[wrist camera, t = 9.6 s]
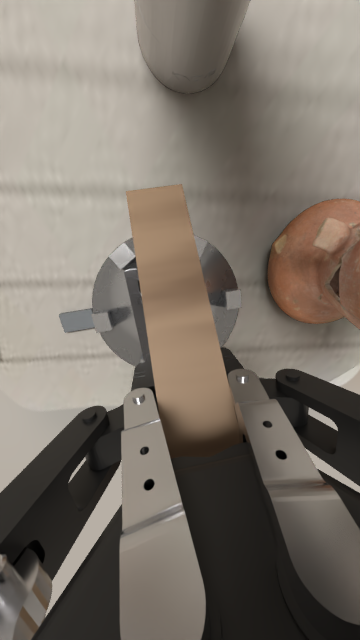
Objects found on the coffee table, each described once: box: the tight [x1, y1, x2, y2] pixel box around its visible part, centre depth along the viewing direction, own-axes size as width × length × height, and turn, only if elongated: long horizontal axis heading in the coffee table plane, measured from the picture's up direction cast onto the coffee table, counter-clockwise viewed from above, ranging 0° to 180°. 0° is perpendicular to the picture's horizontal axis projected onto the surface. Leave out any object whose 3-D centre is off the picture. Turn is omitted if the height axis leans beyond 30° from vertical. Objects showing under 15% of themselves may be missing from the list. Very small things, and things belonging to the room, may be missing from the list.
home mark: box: [59, 308, 95, 333], centre depth 27 cm, size 2×4×1 cm, turn 98°
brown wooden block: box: [126, 184, 239, 459], centre depth 13 cm, size 7×3×15 cm
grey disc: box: [91, 235, 241, 367], centre depth 24 cm, size 19×18×7 cm
